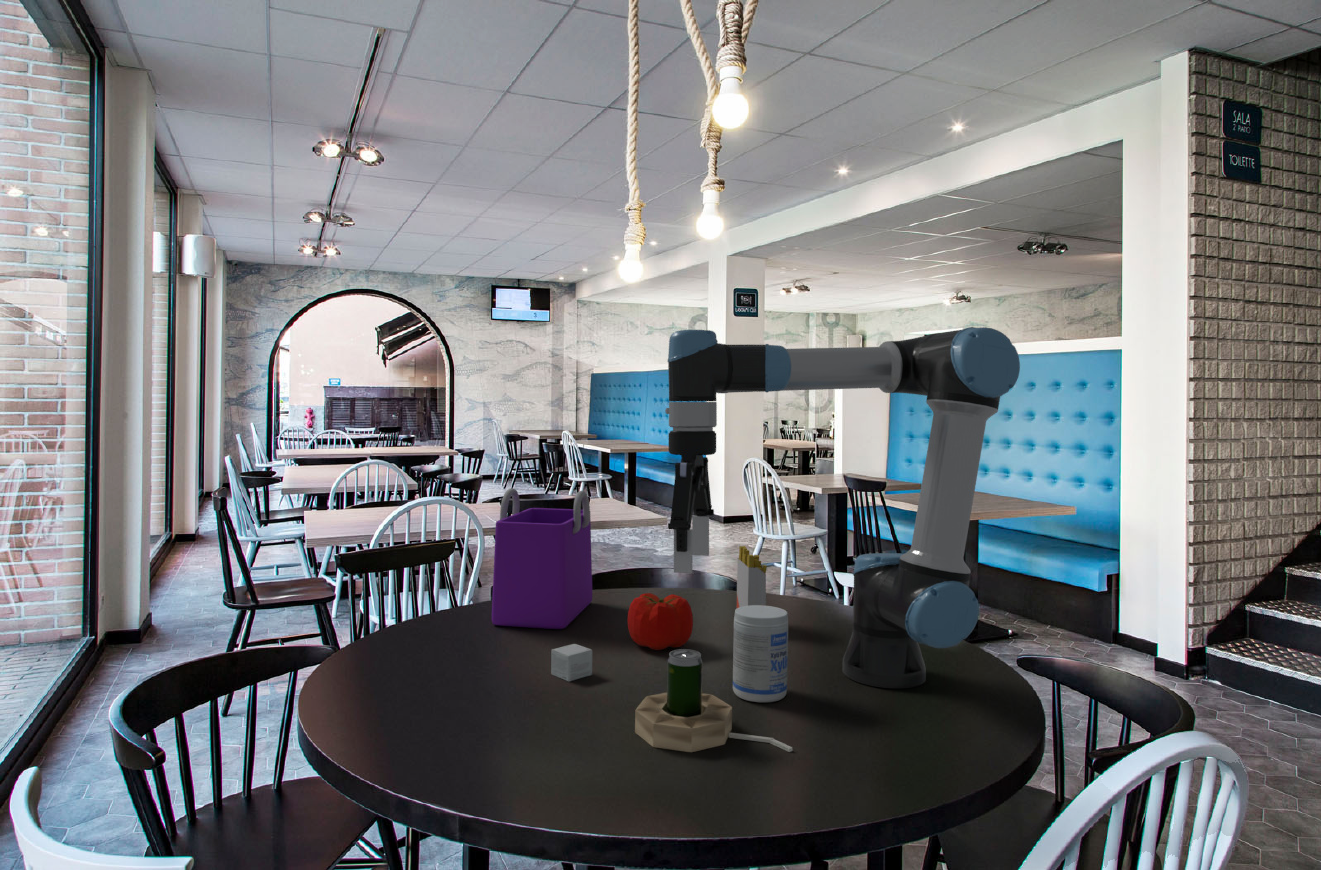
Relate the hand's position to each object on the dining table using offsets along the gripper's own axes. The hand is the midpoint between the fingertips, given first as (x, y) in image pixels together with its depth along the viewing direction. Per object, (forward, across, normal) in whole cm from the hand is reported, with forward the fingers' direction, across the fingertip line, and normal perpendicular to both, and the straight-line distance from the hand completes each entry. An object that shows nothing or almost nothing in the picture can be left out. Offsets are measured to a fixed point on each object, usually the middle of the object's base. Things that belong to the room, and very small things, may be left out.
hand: (692, 563), depth 123 cm
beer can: (+26, +4, -1) cm, 26 cm away
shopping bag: (+25, -52, -47) cm, 75 cm away
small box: (+25, -15, -26) cm, 39 cm away
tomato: (+26, -36, -14) cm, 47 cm away
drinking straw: (+26, +5, +11) cm, 28 cm away
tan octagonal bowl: (+25, +4, -1) cm, 26 cm away
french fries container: (+26, -56, +2) cm, 62 cm away
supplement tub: (+26, -15, +9) cm, 31 cm away
